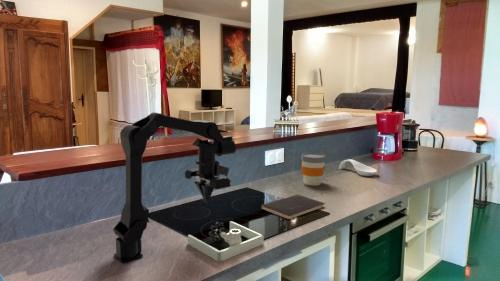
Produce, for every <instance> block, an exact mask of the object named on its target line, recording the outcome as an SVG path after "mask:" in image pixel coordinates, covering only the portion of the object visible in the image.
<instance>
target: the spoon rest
mask: <svg viewBox="0 0 500 281" xmlns="http://www.w3.org/2000/svg"><path fill="white" fill-rule="evenodd" d="M348 162H349V163H350V164H352V166H353V168H354V169H355V171H356V173H357V174H358V175H359V176H362V177H373V176H374V175H375V174H377V172H378V170H377V169H375V168H373V167H371V166H368V165H366V164H364V163H362V162H360V161H357V160H355V159H350V158H349V159H345V160H342V161H341V162H340V164H339V166H338V169H339V170H345V167H346V163H348Z"/></svg>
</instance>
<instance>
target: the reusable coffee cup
mask: <svg viewBox="0 0 500 281" xmlns="http://www.w3.org/2000/svg"><path fill="white" fill-rule="evenodd" d="M300 161H301V167H300V168H301V174H302V179H303V184H305V185H307V186H320V185H321V184H322V179H323V175H324V171H325V167H326V166H325V164H326V163H325V162H326V154H322V153H317V152H306V153H305V152H304V153H302V154H301V160H300Z"/></svg>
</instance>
